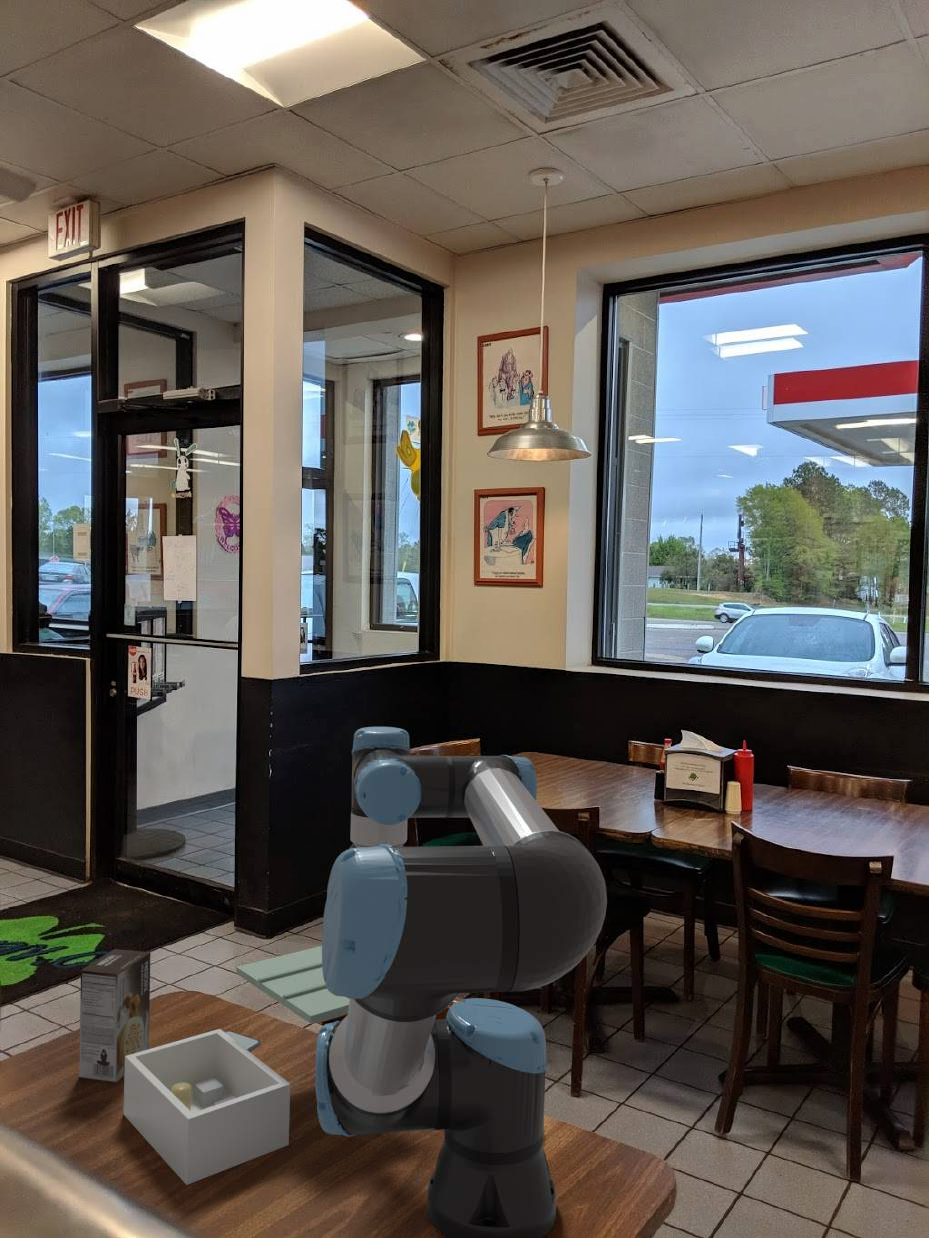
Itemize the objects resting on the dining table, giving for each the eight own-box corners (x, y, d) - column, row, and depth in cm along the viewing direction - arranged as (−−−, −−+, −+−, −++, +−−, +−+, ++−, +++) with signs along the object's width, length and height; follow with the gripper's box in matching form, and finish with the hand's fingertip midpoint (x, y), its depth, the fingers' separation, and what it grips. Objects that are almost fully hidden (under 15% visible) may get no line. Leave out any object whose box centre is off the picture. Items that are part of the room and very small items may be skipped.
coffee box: (112, 1049, 149) (114, 947, 148) (149, 1054, 147) (152, 951, 147) (77, 1078, 140) (79, 968, 139) (116, 1083, 138) (119, 973, 138)
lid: (427, 1019, 130) (429, 945, 130) (335, 1050, 121) (338, 970, 121) (321, 959, 151) (323, 895, 151) (236, 981, 141) (237, 913, 141)
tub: (288, 1144, 124) (290, 1083, 124) (186, 1184, 115) (188, 1119, 115) (218, 1083, 139) (220, 1028, 139) (123, 1114, 130) (124, 1055, 130)
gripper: (406, 830, 135) (401, 996, 135) (314, 846, 125) (309, 1024, 125) (440, 842, 129) (434, 1014, 130) (346, 858, 119) (340, 1045, 120)
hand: (373, 1019), depth 127 cm, fingers closed on lid, 2 cm apart
